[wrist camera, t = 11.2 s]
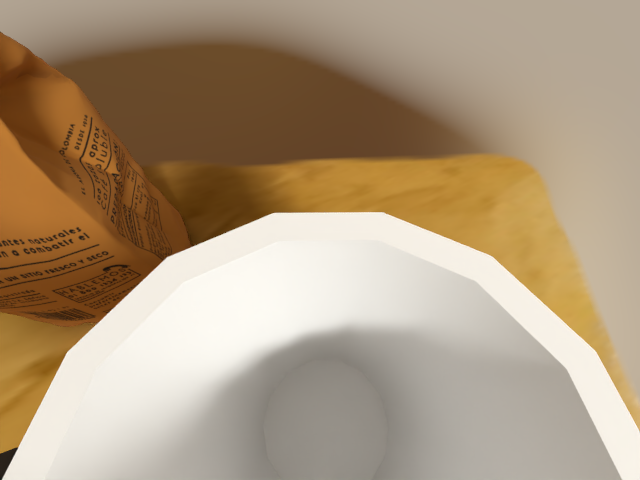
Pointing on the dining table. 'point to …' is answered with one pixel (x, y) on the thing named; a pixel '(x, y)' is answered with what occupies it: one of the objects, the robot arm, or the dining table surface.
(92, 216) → the coffee package
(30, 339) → the dining table surface
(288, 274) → the foam cup
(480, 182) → the dining table surface
